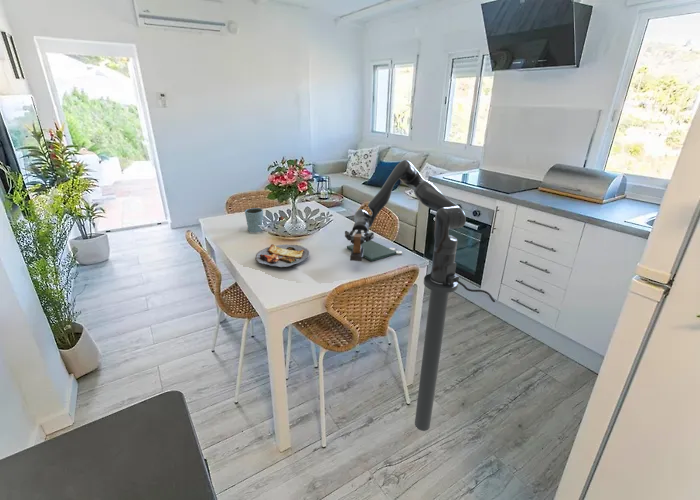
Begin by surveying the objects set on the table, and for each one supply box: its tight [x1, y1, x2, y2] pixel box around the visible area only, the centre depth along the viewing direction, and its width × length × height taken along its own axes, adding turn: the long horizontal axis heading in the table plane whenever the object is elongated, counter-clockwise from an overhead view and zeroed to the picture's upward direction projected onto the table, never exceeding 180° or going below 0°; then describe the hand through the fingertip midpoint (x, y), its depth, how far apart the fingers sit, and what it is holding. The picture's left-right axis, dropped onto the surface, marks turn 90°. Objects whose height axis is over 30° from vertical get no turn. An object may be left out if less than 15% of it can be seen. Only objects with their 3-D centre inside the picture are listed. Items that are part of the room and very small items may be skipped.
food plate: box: [254, 243, 311, 268], centre depth 165 cm, size 25×23×4 cm
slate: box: [346, 239, 397, 262], centre depth 176 cm, size 20×16×1 cm
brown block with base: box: [349, 234, 364, 262], centre depth 153 cm, size 5×10×10 cm, turn 173°
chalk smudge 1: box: [395, 250, 403, 255], centre depth 174 cm, size 3×3×1 cm
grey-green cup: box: [244, 207, 264, 233], centre depth 200 cm, size 10×10×12 cm
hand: (357, 242), depth 149 cm, fingers closed on brown block with base, 3 cm apart
